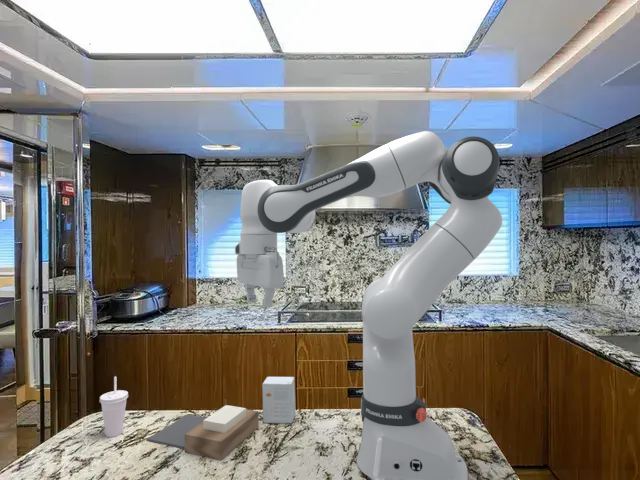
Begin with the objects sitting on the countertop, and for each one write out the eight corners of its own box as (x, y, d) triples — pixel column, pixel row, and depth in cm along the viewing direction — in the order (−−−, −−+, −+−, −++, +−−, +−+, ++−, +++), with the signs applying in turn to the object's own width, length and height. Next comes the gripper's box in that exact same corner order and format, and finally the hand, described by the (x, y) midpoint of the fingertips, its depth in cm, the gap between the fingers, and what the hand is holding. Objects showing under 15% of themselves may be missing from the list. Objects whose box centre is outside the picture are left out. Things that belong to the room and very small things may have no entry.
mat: (223, 422, 98) (223, 420, 98) (187, 449, 85) (187, 447, 85) (187, 416, 103) (187, 414, 103) (147, 440, 90) (147, 438, 90)
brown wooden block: (258, 426, 96) (258, 411, 96) (221, 460, 81) (221, 441, 81) (226, 421, 99) (225, 406, 99) (184, 451, 84) (184, 434, 84)
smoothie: (133, 427, 97) (132, 373, 97) (120, 439, 90) (120, 381, 91) (108, 427, 96) (108, 373, 97) (93, 440, 90) (93, 382, 90)
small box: (295, 414, 103) (295, 376, 103) (292, 424, 97) (291, 383, 97) (267, 413, 104) (267, 375, 104) (262, 423, 98) (262, 383, 98)
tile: (246, 416, 93) (246, 408, 93) (225, 433, 85) (224, 424, 85) (226, 412, 95) (226, 405, 95) (203, 428, 87) (203, 420, 87)
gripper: (290, 246, 83) (291, 308, 82) (254, 247, 100) (255, 298, 100) (264, 247, 79) (265, 311, 79) (232, 247, 97) (232, 300, 96)
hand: (259, 304), depth 89 cm, fingers open, 8 cm apart
